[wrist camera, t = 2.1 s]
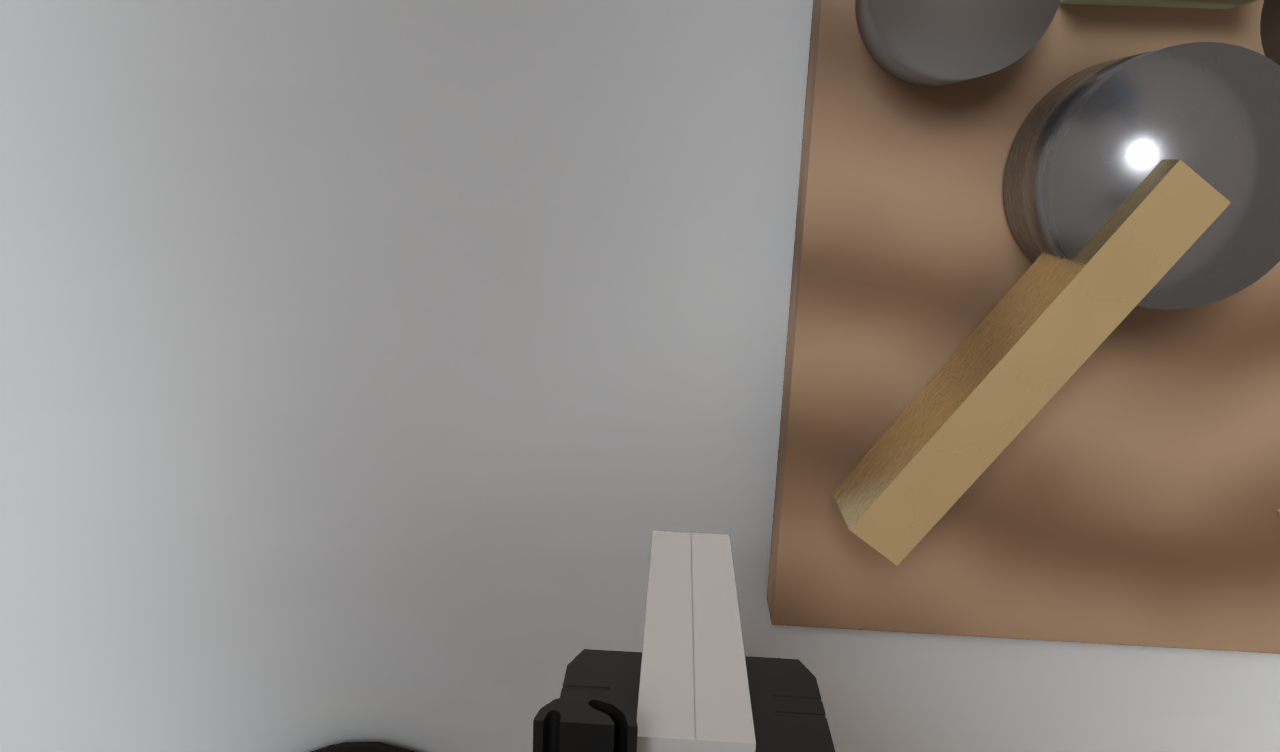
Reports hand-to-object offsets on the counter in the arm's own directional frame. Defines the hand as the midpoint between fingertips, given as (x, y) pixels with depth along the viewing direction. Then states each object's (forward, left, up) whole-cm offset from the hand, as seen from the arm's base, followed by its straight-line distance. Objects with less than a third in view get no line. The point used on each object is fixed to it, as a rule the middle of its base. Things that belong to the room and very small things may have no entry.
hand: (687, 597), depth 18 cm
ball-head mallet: (-4, +10, -13) cm, 17 cm away
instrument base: (-4, +13, -15) cm, 20 cm away
